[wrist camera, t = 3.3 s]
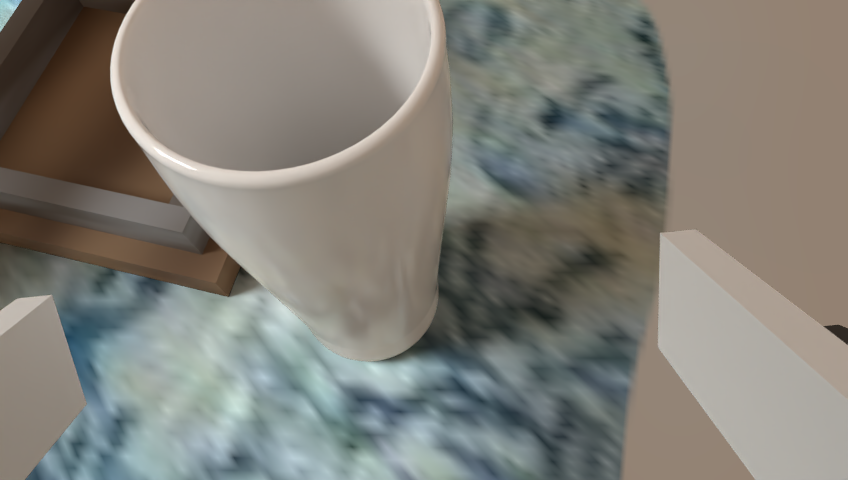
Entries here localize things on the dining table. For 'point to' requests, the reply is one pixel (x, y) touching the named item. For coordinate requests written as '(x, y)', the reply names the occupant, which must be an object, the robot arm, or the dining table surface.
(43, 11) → the collar board
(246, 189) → the white cup
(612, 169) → the dining table surface
